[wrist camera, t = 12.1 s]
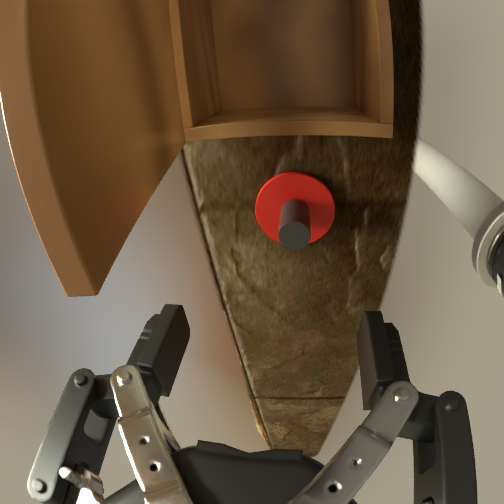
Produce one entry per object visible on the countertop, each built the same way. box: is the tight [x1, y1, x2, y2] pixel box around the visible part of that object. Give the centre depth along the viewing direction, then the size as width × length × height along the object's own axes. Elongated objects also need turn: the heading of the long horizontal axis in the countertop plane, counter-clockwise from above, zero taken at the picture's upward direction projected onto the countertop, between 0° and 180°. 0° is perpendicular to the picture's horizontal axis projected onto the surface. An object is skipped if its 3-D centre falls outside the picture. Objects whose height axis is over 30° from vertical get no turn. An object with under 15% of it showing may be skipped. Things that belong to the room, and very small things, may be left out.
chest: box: [169, 0, 394, 142], centre depth 14 cm, size 12×17×8 cm
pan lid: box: [255, 172, 335, 250], centre depth 24 cm, size 7×7×5 cm
